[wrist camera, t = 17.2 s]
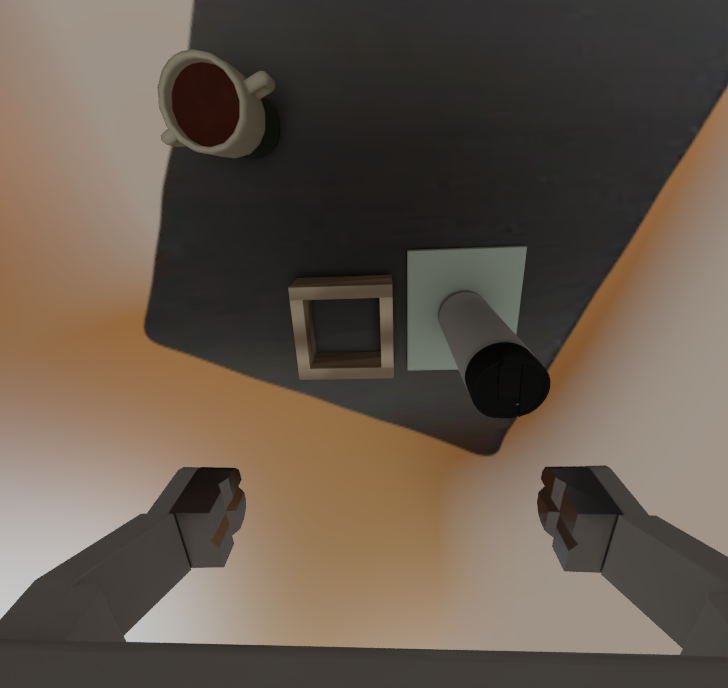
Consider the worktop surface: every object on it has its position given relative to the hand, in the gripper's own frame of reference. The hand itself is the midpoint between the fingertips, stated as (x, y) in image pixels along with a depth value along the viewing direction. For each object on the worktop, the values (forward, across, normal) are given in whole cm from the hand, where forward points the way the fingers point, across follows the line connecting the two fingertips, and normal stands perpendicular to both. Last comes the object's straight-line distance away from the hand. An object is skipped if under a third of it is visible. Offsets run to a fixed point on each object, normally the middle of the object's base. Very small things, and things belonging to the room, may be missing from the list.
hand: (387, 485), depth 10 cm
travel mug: (+38, -10, +8) cm, 40 cm away
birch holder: (+39, +5, +9) cm, 40 cm away
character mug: (+39, +14, -14) cm, 44 cm away
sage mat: (+39, -10, +8) cm, 41 cm away
